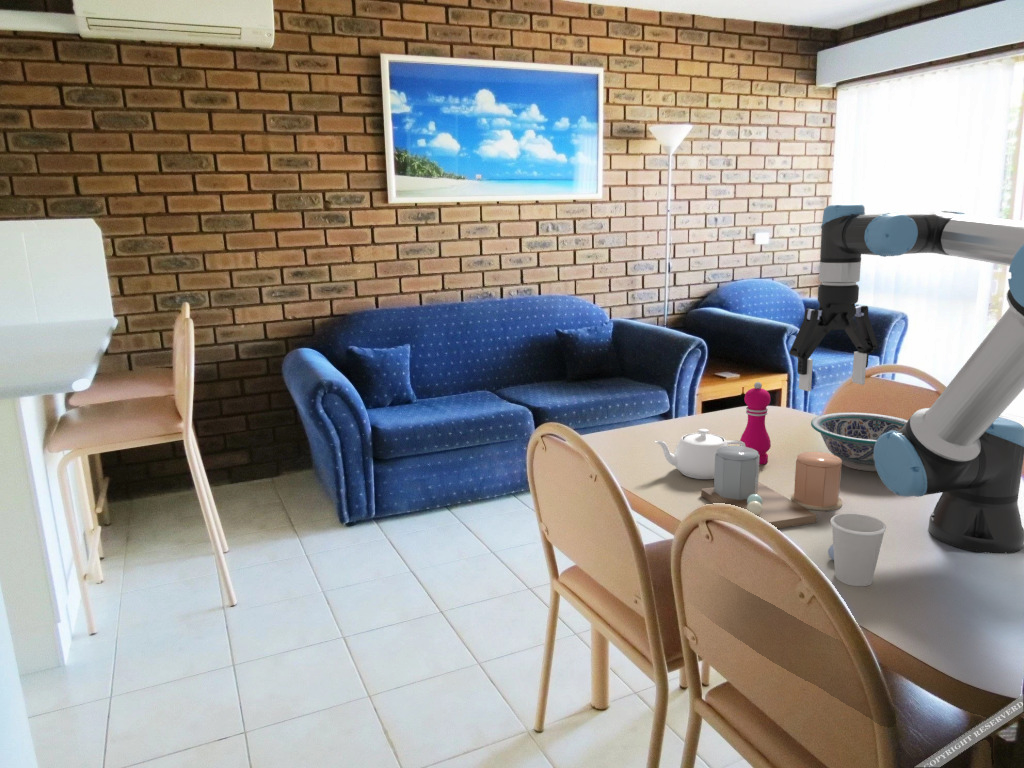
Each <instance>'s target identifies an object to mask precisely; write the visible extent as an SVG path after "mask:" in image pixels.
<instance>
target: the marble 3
mask: <svg viewBox="0 0 1024 768" xmlns="http://www.w3.org/2000/svg"><path fill="white" fill-rule="evenodd" d="M827 554H828V557H829V558H830V559H831V560H833V561H834V548H833V544H831V545H830V546H829V547H828V549H827Z"/></svg>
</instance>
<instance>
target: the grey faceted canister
mask: <svg viewBox="0 0 1024 768" xmlns="http://www.w3.org/2000/svg"><path fill="white" fill-rule="evenodd" d="M759 457H760V455H759V454H758V451H756V450H754V449H752V448H748V447H743V446H740V445H728V446H725V447H721V448H718V449H717V453H716V454H715V474H714V479H713V483H714V484H713V487H714V492H715V493H717V494H718V495H720V496H721V497H724V498H730V499H737V500H743V499H747V498H748V497H749V496H750V495H752V494H757V493H758V482H759V473H760V465H759Z"/></svg>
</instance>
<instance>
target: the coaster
mask: <svg viewBox="0 0 1024 768" xmlns="http://www.w3.org/2000/svg"><path fill="white" fill-rule="evenodd" d="M790 500H792V501H793V502H795V503H797V504H799V505H800V506H802V507H804V508H806V509H807V510H810V511H811V510H813V511H822V512H823V511H825V512H827V511H829V512H830V511H835V510H839V509H840V508H842V507H843V500H842V498H841V497H839V501H838V504H837V505H833V506H827V507H819V506H812V505H806V504H803V503H801V502H799V501H798V500H796V499H794V492H793V493H792V494H791V497H790Z"/></svg>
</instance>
